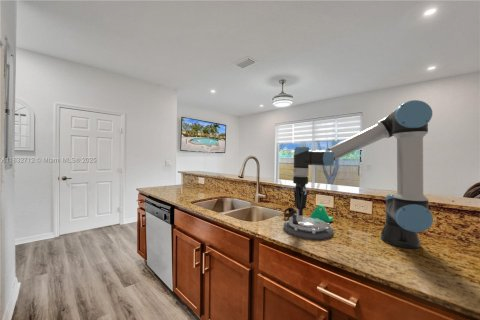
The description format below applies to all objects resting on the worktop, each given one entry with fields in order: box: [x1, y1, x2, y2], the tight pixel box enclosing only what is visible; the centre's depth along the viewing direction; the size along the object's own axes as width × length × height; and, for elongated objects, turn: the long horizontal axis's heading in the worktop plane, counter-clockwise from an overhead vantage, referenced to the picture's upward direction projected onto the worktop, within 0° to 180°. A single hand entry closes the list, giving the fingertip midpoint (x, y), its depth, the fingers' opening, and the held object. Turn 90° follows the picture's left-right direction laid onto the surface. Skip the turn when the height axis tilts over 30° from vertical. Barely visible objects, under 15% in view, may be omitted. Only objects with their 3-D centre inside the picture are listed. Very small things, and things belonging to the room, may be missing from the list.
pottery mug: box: [283, 206, 297, 218], centre depth 137 cm, size 12×10×8 cm
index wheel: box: [285, 214, 330, 234], centre depth 113 cm, size 22×22×7 cm
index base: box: [283, 221, 334, 241], centre depth 113 cm, size 26×26×3 cm
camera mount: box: [309, 204, 333, 223], centre depth 133 cm, size 12×8×10 cm, turn 49°
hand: (299, 220), depth 107 cm, fingers closed
